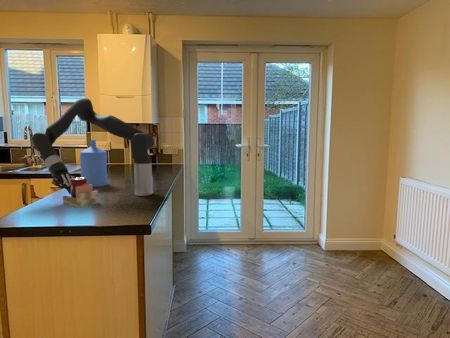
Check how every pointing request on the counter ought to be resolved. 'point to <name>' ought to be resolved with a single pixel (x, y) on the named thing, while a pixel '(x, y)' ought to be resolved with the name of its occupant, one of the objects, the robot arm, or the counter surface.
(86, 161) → the water jug
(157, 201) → the counter surface
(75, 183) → the soda can
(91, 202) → the birch dock
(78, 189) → the catch plate
